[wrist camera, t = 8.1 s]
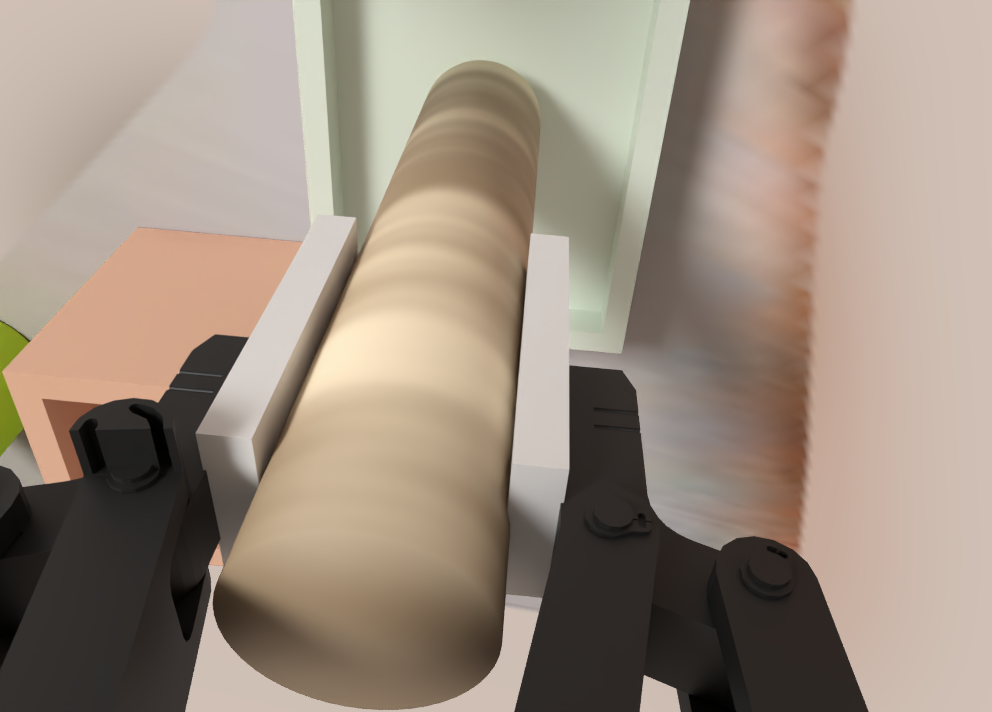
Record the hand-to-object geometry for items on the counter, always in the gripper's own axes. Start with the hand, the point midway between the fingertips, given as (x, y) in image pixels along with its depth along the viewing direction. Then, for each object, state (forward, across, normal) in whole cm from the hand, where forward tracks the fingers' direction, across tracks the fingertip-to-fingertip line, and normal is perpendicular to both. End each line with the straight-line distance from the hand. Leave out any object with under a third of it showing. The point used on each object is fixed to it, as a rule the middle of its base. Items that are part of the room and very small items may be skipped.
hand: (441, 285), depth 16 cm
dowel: (+10, 0, 0) cm, 10 cm away
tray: (+12, 0, 0) cm, 12 cm away
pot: (+12, -9, -10) cm, 18 cm away
